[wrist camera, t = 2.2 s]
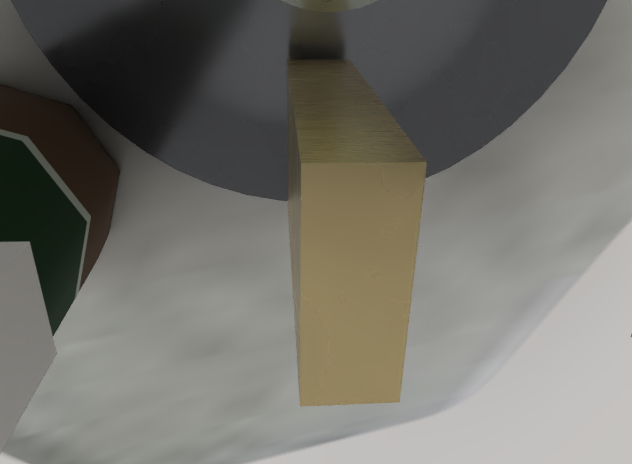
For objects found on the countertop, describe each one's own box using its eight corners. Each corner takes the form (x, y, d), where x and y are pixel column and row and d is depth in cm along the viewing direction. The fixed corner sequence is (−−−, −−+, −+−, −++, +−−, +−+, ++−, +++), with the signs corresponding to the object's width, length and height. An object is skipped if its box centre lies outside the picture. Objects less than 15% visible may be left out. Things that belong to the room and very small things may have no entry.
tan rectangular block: (286, 59, 19) (301, 163, 9) (350, 59, 19) (427, 162, 9) (287, 207, 21) (299, 406, 12) (343, 206, 21) (399, 402, 12)
